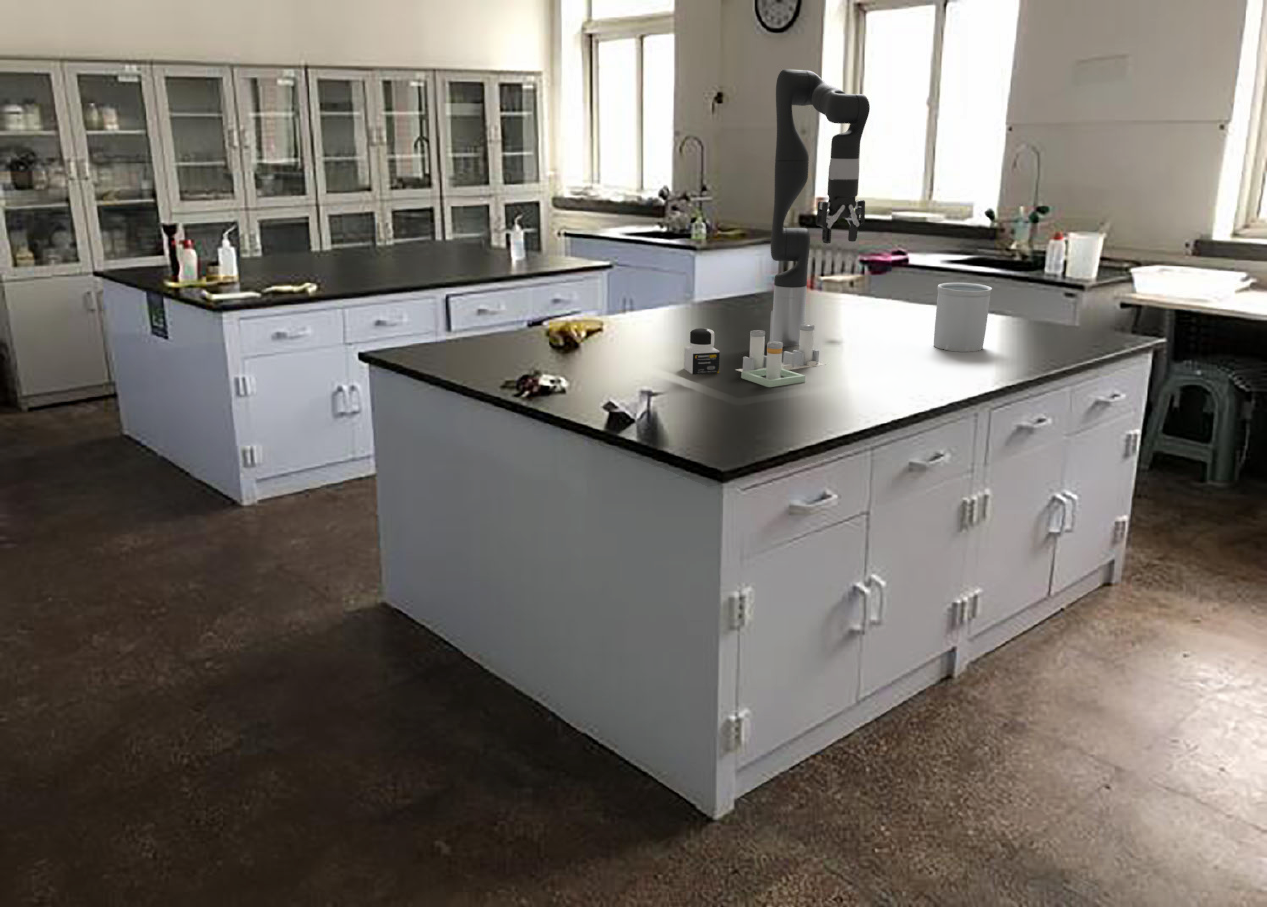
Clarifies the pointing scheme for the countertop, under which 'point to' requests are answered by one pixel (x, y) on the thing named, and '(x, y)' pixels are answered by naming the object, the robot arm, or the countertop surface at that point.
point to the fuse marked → (774, 360)
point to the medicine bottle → (701, 353)
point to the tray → (789, 379)
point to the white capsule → (806, 342)
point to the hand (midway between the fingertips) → (839, 242)
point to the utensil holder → (961, 316)
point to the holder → (785, 361)
